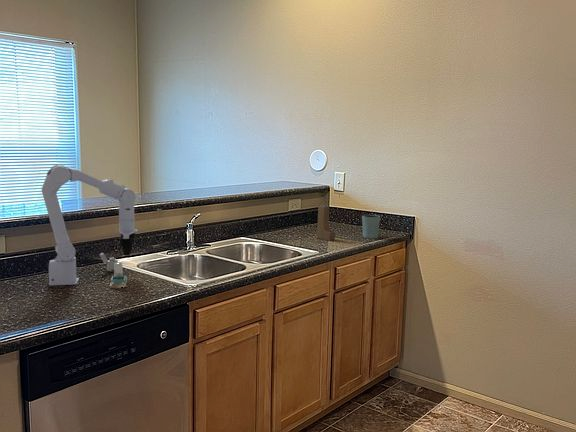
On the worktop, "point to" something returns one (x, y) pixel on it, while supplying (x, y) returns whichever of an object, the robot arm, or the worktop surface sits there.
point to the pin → (118, 271)
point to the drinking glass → (370, 226)
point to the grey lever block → (108, 261)
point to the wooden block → (324, 224)
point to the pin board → (118, 282)
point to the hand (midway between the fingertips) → (127, 253)
